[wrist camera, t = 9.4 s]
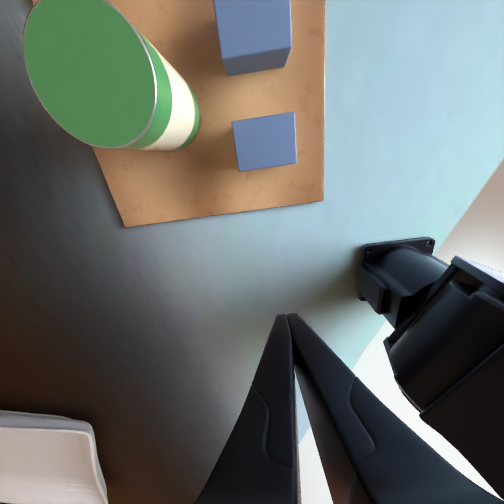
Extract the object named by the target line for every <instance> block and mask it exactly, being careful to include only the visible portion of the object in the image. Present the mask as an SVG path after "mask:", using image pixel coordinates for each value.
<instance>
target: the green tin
mask: <svg viewBox="0 0 504 504" xmlns="http://www.w3.org/2000/svg"><path fill="white" fill-rule="evenodd" d="M23 56H24V62H25V66H26V70H27V74H28V77H29V80H30V82H31V85H32V87H33V89H34V91H35V93H36V95H37V97H38V99H39V100H40V102H41V104H42V105H43V107H44V108H45V109H46V111H47V112H48V113H49V115H50V116H51V117H52V118H53V119H54V120H55V121H56V123H57V124H58V125H60V126H61V127H62V128H63V129H64V130H65V131H66V132H68V133H69V134H70V135H72V136H73V137H75V138H76V139H78V140H80V141H82V142H84V143H86V144H88V145H91V146H94V147H97V148H102V149H118V150H148V151H177V150H181V149H183V148H185V147H187V146H188V145H190V144H191V143H192V142H193V140H194V139H195V137H196V136H197V134H198V131H199V128H200V122H201V112H200V107H199V103H198V100H197V97H196V95H195V93H194V91H193V90H192V88H191V87H190V86H189V84H188V83H187V82H186V81H185V80H184V79H183V78H182V77H181V76H180V74H179V73H178V72H177V71H176V70H175V69H174V68H173V67H172V66H171V65H170V64H169V62H168V61H167V60H166V59H165V58H164V57H163V56H162V55H161V54H160V53H159V52H158V51H157V50H156V48H155V47H154V46H153V45H152V44H151V43H150V42H149V41H148V40H147V39H146V38H145V37H144V36H143V35H142V34H141V33H140V32H139V31H138V29H137V28H136V27H135V26H134V25H133V24H132V23H131V22H130V21H129V20H128V19H127V18H126V17H125V16H124V15H123V14H122V13H121V12H120V11H119V10H118V9H117V8H116V7H115V6H113V5H112V4H111V3H110V2H108V1H107V0H38V1H37V2H36V3H35V4H34V6H33V7H32V8H31V10H30V12H29V14H28V16H27V19H26V23H25V26H24V32H23Z"/></svg>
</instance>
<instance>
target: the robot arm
mask: <svg viewBox="0 0 504 504" xmlns="http://www.w3.org/2000/svg"><path fill="white" fill-rule="evenodd" d="M428 241H429V243H428V244H427V242H428ZM434 245H435V240H434V239H432V238H430V237H423V238H415V239H406V240H398V241H390V242H381V243H373V244H366V245H364V246H363V247H362V252H361V262H360V266H359V267H358V276H357V289H358V294H357V296H358V298H359V299H360V300H361V301H367V302H368V303H369V304H370V305H371V307H372V308H373V309H374V311H375V312H376V313H377V314H383V315H384V317H385V318H386V319H387V320H388V322H389V323H390V324H391V325H392V326H393V328H394V329H395V330H394V332H393V333H392V334H391V335H390V336H389V337H387V338H386V339H385V340H384V341H383V343H384V346H385V349H386V352H387V354H388V357H389V361H390V364H391V366H392V370H393V373H394V378H395V381H396V382H397V384H398V386H399V388H400V390H401V391H402V393H403V395H404V396H405V397H406V398H407V400H408V401H409V402H410V403H411V404H412V405H413V406H414V407H415V408H416V409H417V410H418V411H419V412H420V414H419V416H420V418H421V419H422V420H423V421H424V422H425V423H426V424H428V425H429V426H430V427H432V428H433V429H434V430H436V431H437V432H438V433H440V434H441V435H442V436H443V437H444V438H445V439H446V440H447V441H448V442H449V443H451V444H452V445H453V446H454V447H455V448H456V449H457V450H458V451H459V452H460V453H461V454H462V455H463V456H464V457H465V458H466V459H467V460H468V462H469V463H471V465H472V466H473V467H474V468H475V469H476V470H477V471H478V473H479V474H480V475H481V476H482V477H483V478H484V479H485V480H486V481H487V483H488V484H489V485H490V486H491V487H492V488H493V489H494V491H495V492H496V493H497V494H498V495H499V496H500V497H501V498H502V499H503V500H504V272H501V271H498V270H495V269H493V268H490V267H487V266H484V265H481V264H478V263H476V262H473V261H470V260H467V259H464V258H462V257H459V256H455V257H454V258H453V259H452V260H451V264H450V265H448V264H447V263H445V262H443V261H441V260H439V259H438V258H436V257H434V256H433V255H432V253H433V249H434ZM368 248H370V249H369V250H368V251H366V250H367V249H368ZM362 296H363V297H362ZM294 368H295V372H294ZM295 373H296V376H297V380H298V383H299V387H300V390H301V394H302V397H303V400H304V404H305V407H306V411H307V414H308V418H309V421H310V425H311V428H312V431H313V435H314V438H315V442H316V445H317V449H318V452H319V456H320V459H321V463H322V466H323V469H324V473H325V476H326V480H327V483H328V487H329V490H330V493H331V497H332V500H333V504H504V501H503V500H501V499H499V498H497V497H496V496H494V495H492V494H490V493H489V492H487V491H486V490H484V489H483V488H481V487H479V486H478V485H476V484H475V483H474V482H472V481H471V480H469V479H468V478H467V477H465V476H464V475H463V474H461V473H460V472H459V471H458V470H456V469H455V468H454V467H453V466H451V464H449V463H448V462H447V461H446V460H445V459H444V458H443V457H441V456H440V455H439V454H438V453H437V452H436V451H435V450H434V449H433V448H431V447H430V446H429V445H428V444H427V443H426V442H425V441H423V440H422V439H421V438H420V437H419V436H418V435H417V434H416V433H415V432H414V431H412V430H411V429H410V428H409V427H408V426H407V425H406V424H405V423H404V422H402V421H401V420H400V419H399V418H398V417H397V416H396V415H395V414H394V413H393V412H392V411H390V410H389V409H388V408H387V407H386V406H385V405H384V404H383V403H382V402H381V401H380V400H379V399H378V398H377V397H376V396H375V395H374V394H373V393H372V392H371V391H370V390H369V389H368V388H367V387H366V386H365V385H364V384H363V383H362V382H361V381H360V380H359V379H358V377H355V374H354V373H353V372H352V371H351V370H350V369H349V368H348V367H347V366H346V365H345V364H344V363H343V362H342V360H341V359H340V358H339V357H338V356H337V355H336V354H335V353H334V352H333V351H332V350H331V349H330V348H329V347H328V346H327V344H326V343H325V342H324V341H323V340H322V339H321V338H320V337H319V336H318V335H317V334H316V333H315V332H314V331H313V330H312V328H311V327H310V326H309V325H308V324H307V323H306V322H305V321H304V320H303V319H302V318H301V317H300V316H299V315H298V314H297V313H296V312H295V313H288V314H287V315H286V314H277V315H276V317H275V320H274V323H273V326H272V329H271V331H270V334H269V337H268V340H267V343H266V345H265V348H264V351H263V354H262V357H261V359H260V362H259V365H258V368H257V371H256V373H255V376H254V379H253V382H252V386H251V387H250V390H249V393H248V396H247V398H246V401H245V403H244V406H243V408H242V411H241V413H240V415H239V417H238V420H237V422H236V424H235V426H234V428H233V430H232V432H231V434H230V436H229V439H228V441H227V443H226V445H225V447H224V449H223V451H222V453H221V455H220V457H219V459H218V461H217V463H216V465H215V467H214V469H213V471H212V473H211V475H210V477H209V479H208V481H207V483H206V484H205V486H204V488H203V490H202V491H201V493H200V495H199V496H198V498H197V499H196V501H195V502H194V504H301V487H300V469H299V450H298V429H297V409H296V390H295Z"/></svg>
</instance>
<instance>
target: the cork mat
mask: <svg viewBox="0 0 504 504" xmlns="http://www.w3.org/2000/svg"><path fill="white" fill-rule="evenodd" d="M32 1H33V3H34V4H35V3H36V2H37V1H38V0H32ZM107 1H108V2H110V3H111V4H112V5H113V6H115V7H116V8H117V9H118V10H119V11H120V12H121V13H122V14H123V15H124V16H125V17H126V18H127V19H128V20H129V21H130V22H131V23H132V24H133V25H134V26H135V27H136V28H137V29H138V31H139V32H140V33H141V34H142V35H143V36H144V37H145V38H146V39H147V40H148V41H149V42H150V43H151V44H152V45H153V46H154V47H155V48H156V50H157V51H158V52H159V53H160V54H161V55H162V56H163V57H164V58H165V59H166V60H167V61H168V62H169V64H170V65H171V66H172V67H173V68H174V69H175V70H176V71H177V72H178V73H179V74H180V76H181V77H182V78H183V79H184V80H185V81H186V82H187V83H188V84H189V86H190V87H191V88H192V90H193V91H194V93H195V95H196V97H197V100H198V103H199V107H200V112H201V122H200V128H199V131H198V134H197V136H196V137H195V139H194V140H193V142H192V143H191V144H190V145H188V146H187V147H185V148H183V149H181V150H177V151H148V150H118V149H102V148H97V147H94V146H92V147H93V150H94V152H95V155H96V157H97V160H98V162H99V164H100V167H101V169H102V172H103V174H104V177H105V179H106V182H107V184H108V186H109V189H110V191H111V194H112V196H113V199H114V201H115V203H116V206H117V208H118V211H119V213H120V216H121V218H122V221H123V223H124V225H125V227H130V226H138V225H145V224H153V223H161V222H168V221H176V220H183V219H191V218H198V217H206V216H213V215H221V214H228V213H236V212H243V211H251V210H258V209H266V208H273V207H281V206H288V205H296V204H303V203H311V202H318V201H323V200H324V104H325V0H290V4H291V29H292V48H291V51H290V53H289V56H288V59H287V61H286V64H285V66H284V67H280V68H274V69H268V70H262V71H257V72H251V73H245V74H239V75H233V76H227V74H226V71H225V67H224V64H223V61H222V58H221V52H220V45H219V39H218V32H217V26H216V19H215V13H214V6H213V0H107ZM287 112H295V127H296V151H297V163H296V164H290V165H283V166H276V167H269V168H262V169H255V170H248V171H242V172H239V170H238V164H237V157H236V151H235V144H234V138H233V131H232V124H231V122H232V121H237V120H243V119H250V118H256V117H262V116H268V115H275V114H281V113H287Z"/></svg>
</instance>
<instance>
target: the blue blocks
mask: <svg viewBox="0 0 504 504" xmlns="http://www.w3.org/2000/svg"><path fill="white" fill-rule="evenodd" d="M213 6H214V13H215V19H216V26H217V32H218V39H219V45H220V52H221V58H222V61H223V64H224V67H225V71H226V74H227V76H233V75H239V74H245V73H251V72H257V71H262V70H268V69H274V68H280V67H284V66H285V64H286V61H287V59H288V56H289V53H290V51H291V48H292V29H291V4H290V0H213ZM231 124H232V131H233V138H234V144H235V151H236V157H237V164H238V170H239V172H242V171H248V170H255V169H262V168H269V167H276V166H283V165H290V164H296V163H297V151H296V127H295V112H287V113H281V114H275V115H268V116H262V117H256V118H250V119H243V120H237V121H232V122H231Z"/></svg>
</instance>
